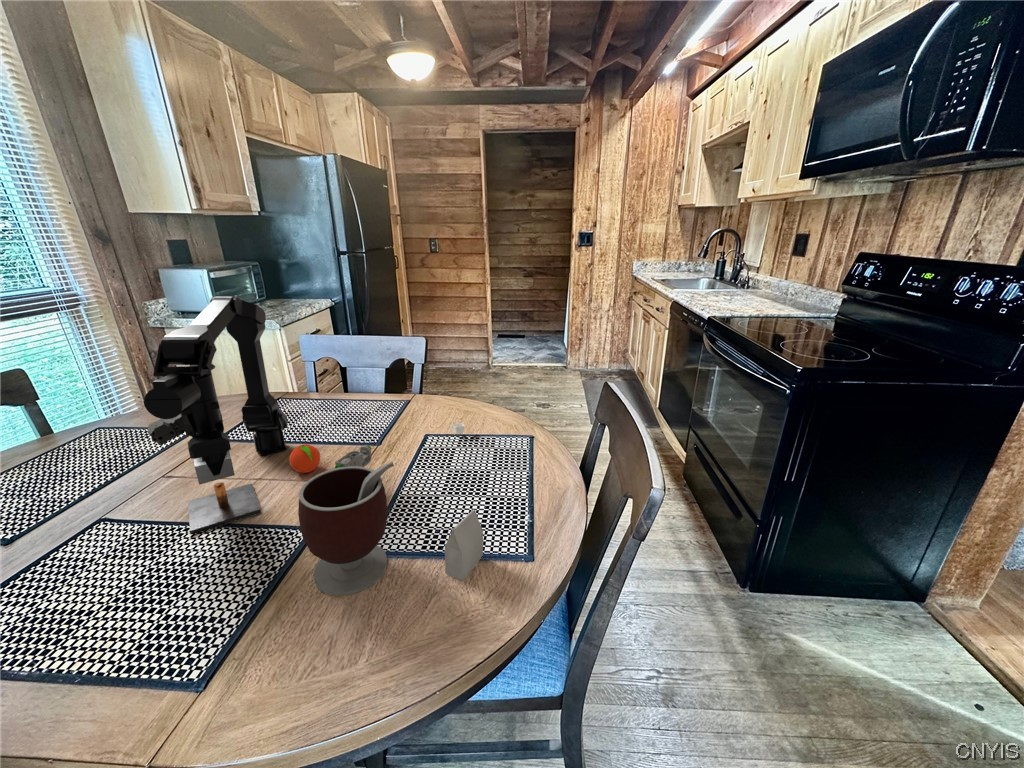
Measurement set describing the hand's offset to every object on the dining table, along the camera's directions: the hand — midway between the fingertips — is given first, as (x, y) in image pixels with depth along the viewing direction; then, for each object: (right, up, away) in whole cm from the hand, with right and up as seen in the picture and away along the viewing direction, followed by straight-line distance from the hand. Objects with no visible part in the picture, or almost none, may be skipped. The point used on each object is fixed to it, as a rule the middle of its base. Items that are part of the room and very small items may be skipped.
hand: (215, 468), depth 86 cm
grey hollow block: (0, -1, 0) cm, 1 cm away
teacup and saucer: (+47, 0, +37) cm, 60 cm away
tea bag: (+53, -16, -10) cm, 56 cm away
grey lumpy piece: (+26, -8, +11) cm, 29 cm away
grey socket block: (0, -9, +3) cm, 10 cm away
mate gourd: (+33, -16, -11) cm, 39 cm away
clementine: (+10, -5, +18) cm, 22 cm away
